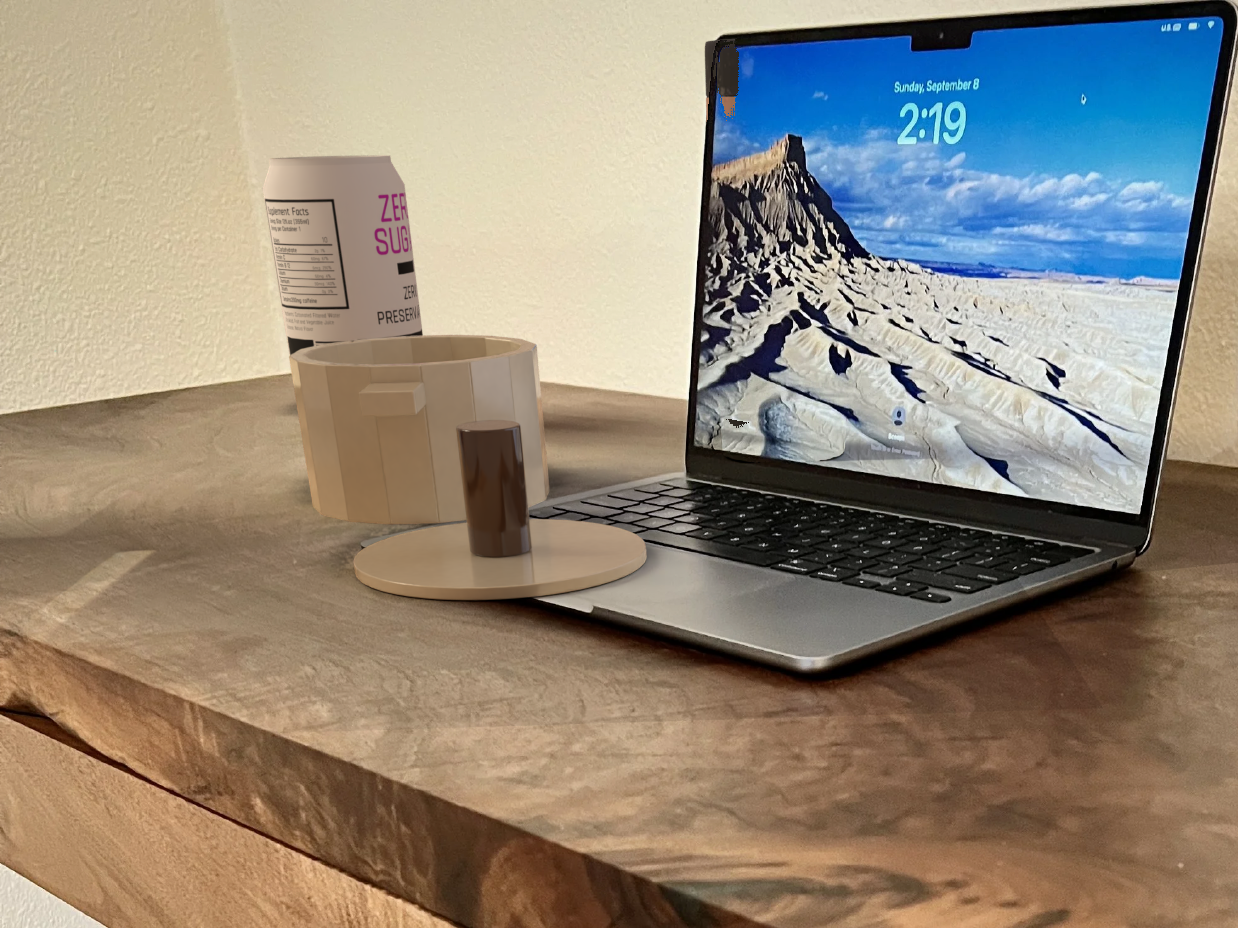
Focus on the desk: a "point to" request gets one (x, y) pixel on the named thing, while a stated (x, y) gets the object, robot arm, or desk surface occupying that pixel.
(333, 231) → the supplement can
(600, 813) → the desk surface
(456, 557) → the lid
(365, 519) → the pot
